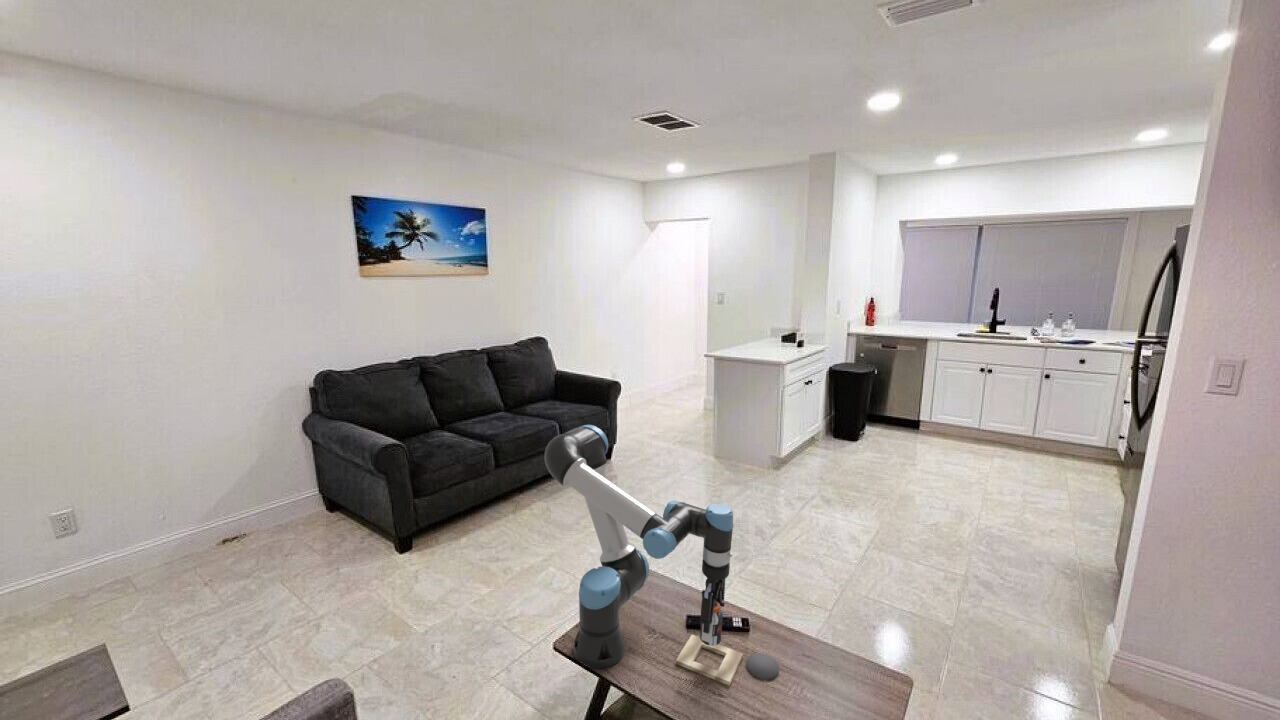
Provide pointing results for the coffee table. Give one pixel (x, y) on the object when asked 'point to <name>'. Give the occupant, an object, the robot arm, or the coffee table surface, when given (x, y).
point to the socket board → (721, 675)
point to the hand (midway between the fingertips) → (710, 633)
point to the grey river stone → (762, 666)
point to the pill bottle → (715, 626)
